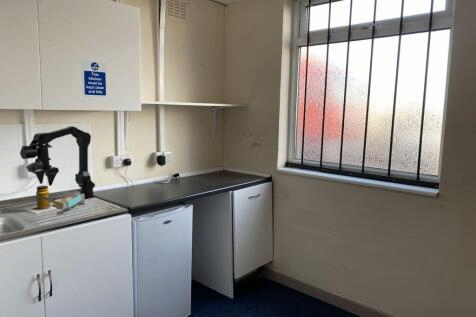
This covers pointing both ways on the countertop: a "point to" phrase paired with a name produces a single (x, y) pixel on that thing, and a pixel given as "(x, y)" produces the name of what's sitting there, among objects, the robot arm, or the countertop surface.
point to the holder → (63, 201)
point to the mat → (40, 210)
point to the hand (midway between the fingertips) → (45, 184)
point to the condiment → (42, 198)
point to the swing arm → (73, 201)
